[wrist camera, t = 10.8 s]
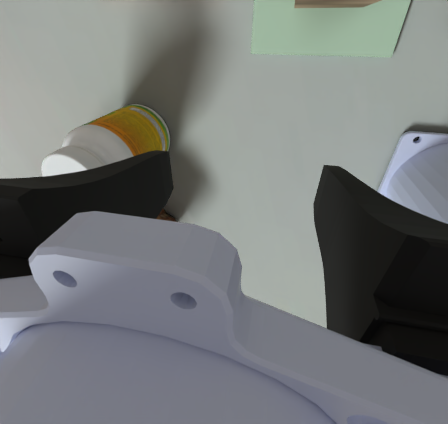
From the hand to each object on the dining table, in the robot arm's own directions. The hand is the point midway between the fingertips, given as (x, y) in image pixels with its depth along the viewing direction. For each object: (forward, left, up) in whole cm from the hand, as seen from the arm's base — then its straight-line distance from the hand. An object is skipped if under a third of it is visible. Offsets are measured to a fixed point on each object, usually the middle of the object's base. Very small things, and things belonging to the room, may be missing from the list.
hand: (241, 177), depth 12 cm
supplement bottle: (+11, +2, -11) cm, 15 cm away
